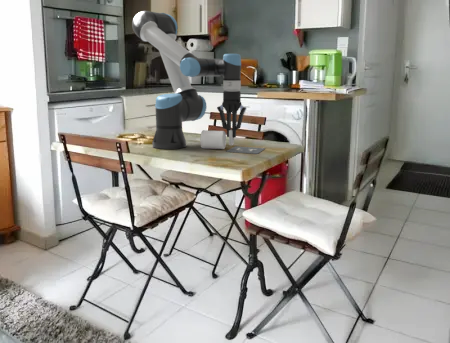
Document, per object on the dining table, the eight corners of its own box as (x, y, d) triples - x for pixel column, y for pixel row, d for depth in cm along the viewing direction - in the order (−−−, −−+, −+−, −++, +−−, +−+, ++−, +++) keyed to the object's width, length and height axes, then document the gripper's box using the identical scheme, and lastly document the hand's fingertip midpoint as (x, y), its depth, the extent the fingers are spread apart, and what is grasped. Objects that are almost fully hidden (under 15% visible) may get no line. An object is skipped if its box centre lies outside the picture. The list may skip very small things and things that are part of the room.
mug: (222, 150, 194) (222, 132, 192) (200, 149, 196) (199, 131, 195) (228, 146, 206) (228, 128, 204) (207, 145, 208) (207, 128, 206)
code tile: (225, 151, 192) (225, 151, 192) (235, 146, 205) (235, 146, 205) (257, 154, 188) (257, 153, 188) (265, 148, 201) (265, 148, 201)
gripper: (214, 90, 191) (214, 145, 197) (244, 91, 187) (243, 146, 193) (220, 90, 198) (220, 142, 203) (248, 90, 194) (247, 144, 200)
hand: (231, 144), depth 198 cm, fingers closed
